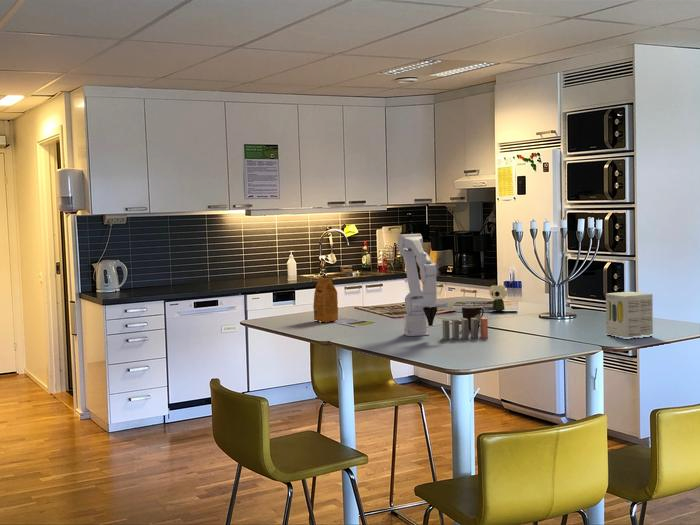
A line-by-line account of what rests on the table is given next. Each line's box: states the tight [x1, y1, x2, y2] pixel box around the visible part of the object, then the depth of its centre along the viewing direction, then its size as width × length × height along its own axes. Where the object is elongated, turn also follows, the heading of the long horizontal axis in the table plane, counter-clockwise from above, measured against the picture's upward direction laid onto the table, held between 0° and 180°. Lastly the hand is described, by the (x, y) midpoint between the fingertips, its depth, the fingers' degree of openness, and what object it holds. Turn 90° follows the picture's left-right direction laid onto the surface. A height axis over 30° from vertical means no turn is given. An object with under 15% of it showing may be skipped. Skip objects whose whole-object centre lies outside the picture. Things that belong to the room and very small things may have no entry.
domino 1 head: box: [442, 318, 451, 341], centre depth 347 cm, size 2×5×8 cm, turn 6°
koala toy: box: [489, 285, 508, 312], centre depth 427 cm, size 11×7×13 cm, turn 42°
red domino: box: [479, 316, 489, 339], centre depth 348 cm, size 2×5×8 cm, turn 6°
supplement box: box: [605, 291, 654, 337], centre depth 339 cm, size 13×13×18 cm
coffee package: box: [312, 275, 339, 323], centre depth 409 cm, size 10×12×22 cm
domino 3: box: [470, 318, 479, 340], centre depth 348 cm, size 2×5×8 cm, turn 6°
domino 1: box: [451, 318, 460, 341], centre depth 347 cm, size 2×5×8 cm, turn 6°
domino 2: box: [460, 317, 470, 340], centre depth 348 cm, size 2×5×8 cm, turn 6°
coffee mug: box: [461, 305, 485, 331], centre depth 371 cm, size 12×9×10 cm
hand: (430, 325), depth 346 cm, fingers closed
